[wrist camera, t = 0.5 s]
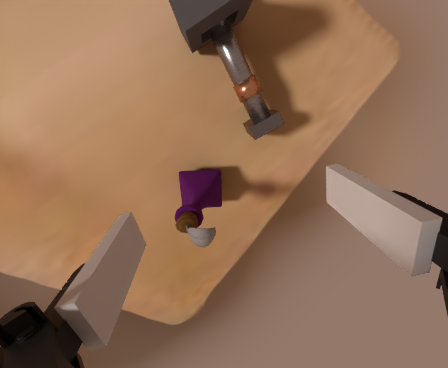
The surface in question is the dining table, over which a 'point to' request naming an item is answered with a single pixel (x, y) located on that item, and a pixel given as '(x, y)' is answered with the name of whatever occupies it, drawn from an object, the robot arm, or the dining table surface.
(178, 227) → the perfume bottle
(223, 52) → the pipe stand
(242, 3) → the collar
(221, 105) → the dining table surface
